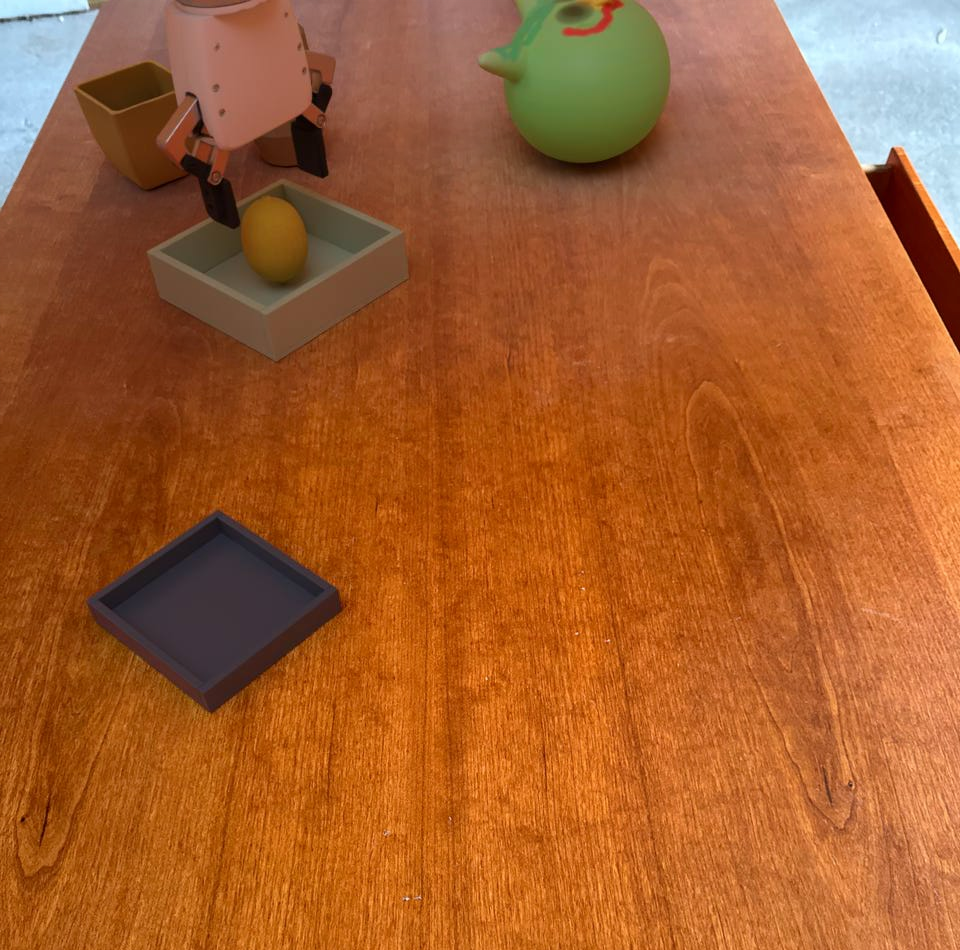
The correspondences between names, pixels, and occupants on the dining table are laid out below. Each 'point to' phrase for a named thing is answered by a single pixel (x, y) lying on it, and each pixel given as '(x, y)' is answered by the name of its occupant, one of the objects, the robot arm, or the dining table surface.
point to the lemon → (274, 239)
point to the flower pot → (133, 119)
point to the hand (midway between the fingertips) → (270, 197)
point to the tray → (215, 608)
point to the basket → (269, 304)
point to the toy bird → (583, 76)
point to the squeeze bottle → (281, 136)
